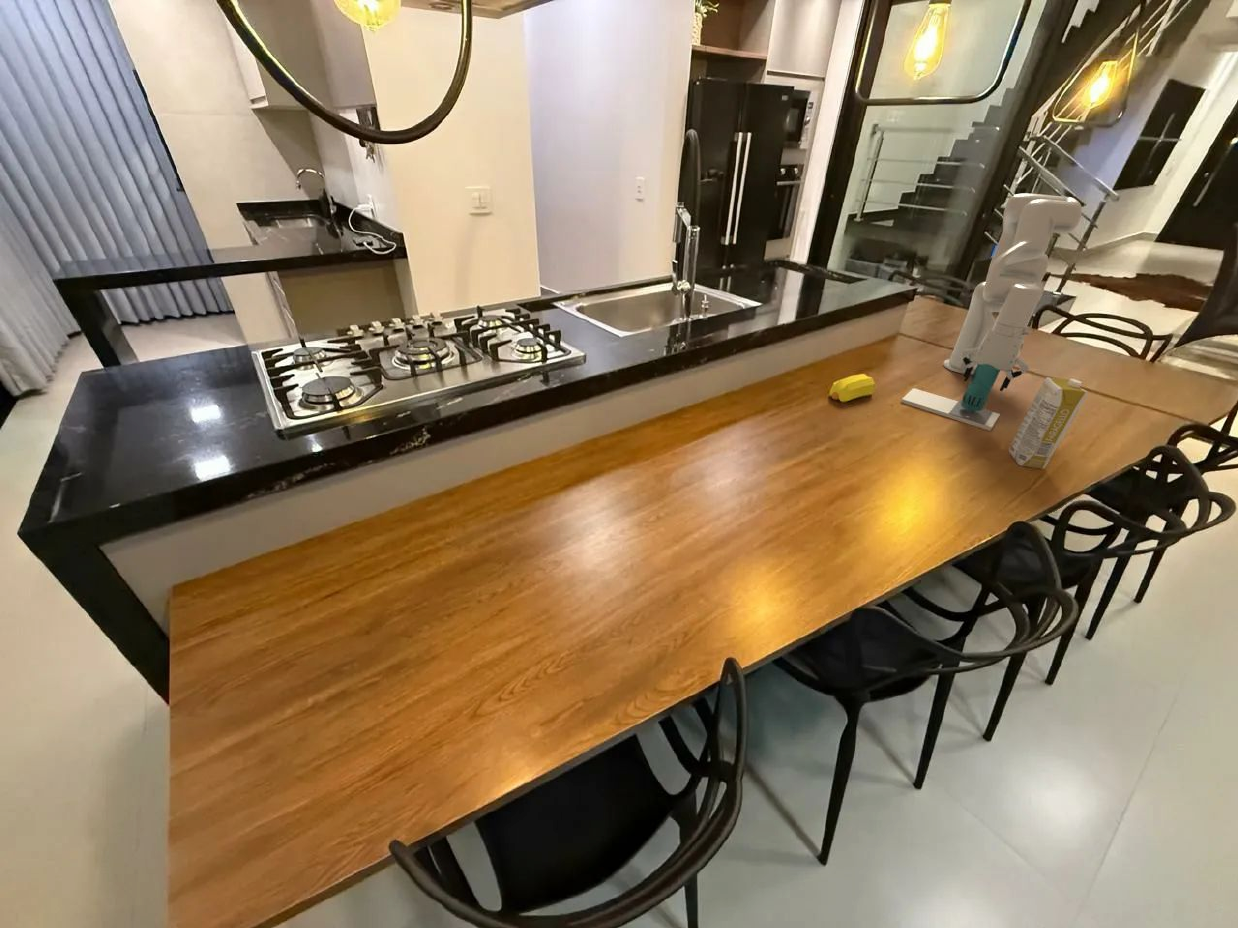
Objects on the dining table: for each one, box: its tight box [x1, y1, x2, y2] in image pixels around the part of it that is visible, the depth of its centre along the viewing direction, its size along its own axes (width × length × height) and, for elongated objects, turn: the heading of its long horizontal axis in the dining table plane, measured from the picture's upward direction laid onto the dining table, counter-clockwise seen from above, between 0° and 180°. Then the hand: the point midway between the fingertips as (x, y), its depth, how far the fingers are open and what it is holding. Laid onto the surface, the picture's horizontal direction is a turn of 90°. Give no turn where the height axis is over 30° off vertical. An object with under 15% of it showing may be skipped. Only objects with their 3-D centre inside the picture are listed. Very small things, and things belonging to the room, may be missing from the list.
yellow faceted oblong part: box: [829, 373, 876, 403], centre depth 176 cm, size 18×7×8 cm
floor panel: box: [900, 387, 1001, 431], centre depth 172 cm, size 12×26×2 cm, turn 49°
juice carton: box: [1008, 376, 1089, 469], centre depth 141 cm, size 9×8×24 cm
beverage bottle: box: [960, 364, 1001, 411], centre depth 163 cm, size 6×7×20 cm
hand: (983, 384), depth 163 cm, fingers open, 9 cm apart
